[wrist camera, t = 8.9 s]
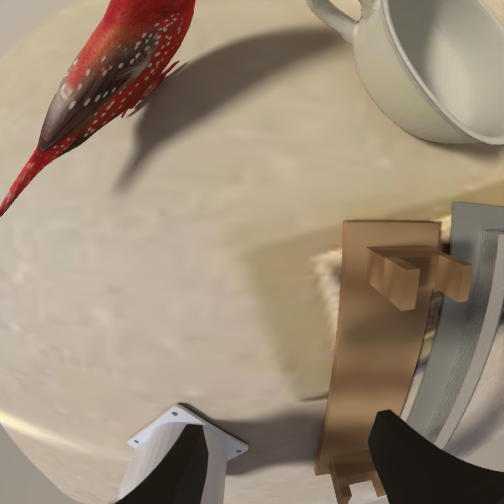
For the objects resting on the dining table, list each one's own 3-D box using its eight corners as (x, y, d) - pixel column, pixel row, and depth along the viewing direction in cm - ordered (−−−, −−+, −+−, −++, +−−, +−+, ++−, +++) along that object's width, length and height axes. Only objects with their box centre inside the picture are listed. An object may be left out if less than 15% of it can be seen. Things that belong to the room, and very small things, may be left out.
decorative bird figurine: (242, 38, 15) (233, -68, 5) (63, 222, 17) (-42, 252, 7) (213, 17, 14) (187, -83, 4) (44, 196, 17) (-59, 211, 7)
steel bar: (434, 439, 22) (441, 450, 20) (419, 444, 22) (426, 456, 20) (496, 230, 17) (513, 234, 15) (481, 229, 17) (498, 234, 15)
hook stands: (375, 457, 22) (392, 497, 16) (314, 468, 22) (322, 514, 16) (431, 221, 17) (489, 236, 11) (342, 220, 17) (386, 237, 11)
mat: (448, 439, 23) (449, 440, 22) (388, 460, 23) (389, 461, 22) (514, 208, 17) (516, 208, 16) (452, 201, 17) (454, 202, 16)
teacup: (471, 79, 14) (533, 56, 7) (439, 183, 17) (520, 187, 9) (327, -17, 13) (354, -82, 5) (266, 75, 15) (274, 3, 7)
